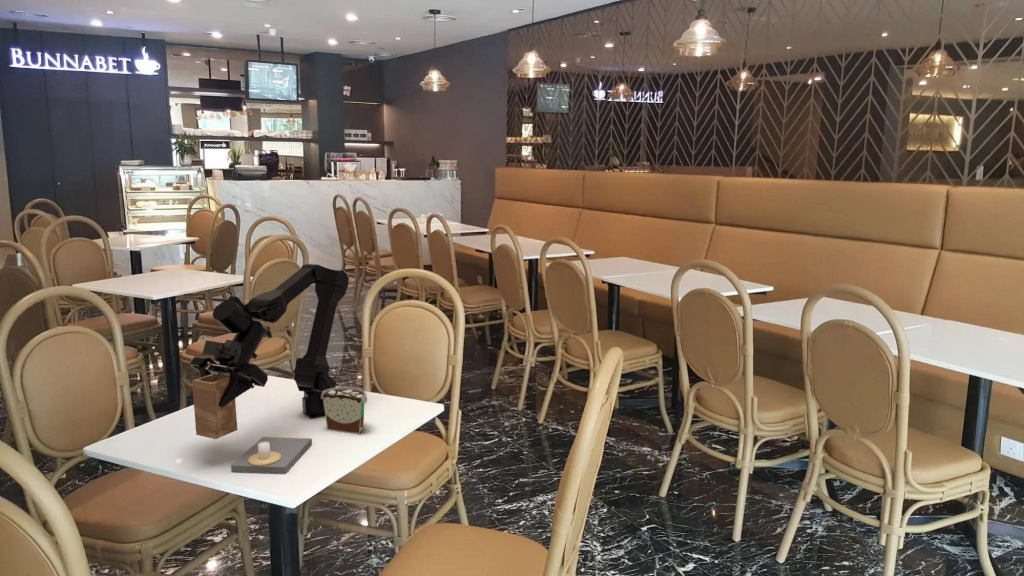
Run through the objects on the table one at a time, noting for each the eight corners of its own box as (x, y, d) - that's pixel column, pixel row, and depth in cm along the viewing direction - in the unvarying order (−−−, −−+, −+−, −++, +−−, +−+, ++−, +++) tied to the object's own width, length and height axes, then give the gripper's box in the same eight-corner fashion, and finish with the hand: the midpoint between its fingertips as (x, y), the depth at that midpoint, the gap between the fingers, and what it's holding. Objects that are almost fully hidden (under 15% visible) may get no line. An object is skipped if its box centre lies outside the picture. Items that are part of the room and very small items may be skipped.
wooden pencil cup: (218, 425, 158) (214, 373, 156) (237, 429, 156) (233, 376, 154) (196, 434, 153) (191, 380, 151) (216, 439, 151) (211, 384, 148)
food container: (377, 426, 176) (376, 388, 174) (365, 435, 170) (363, 396, 168) (336, 420, 180) (334, 383, 178) (322, 429, 174) (320, 391, 172)
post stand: (263, 443, 165) (261, 422, 164) (312, 444, 164) (310, 423, 163) (231, 472, 149) (229, 449, 148) (285, 473, 149) (284, 450, 148)
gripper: (193, 321, 158) (155, 381, 150) (254, 329, 150) (217, 393, 142) (223, 346, 166) (188, 404, 158) (282, 355, 158) (249, 417, 151)
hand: (209, 404), depth 152 cm, fingers closed on wooden pencil cup, 6 cm apart
